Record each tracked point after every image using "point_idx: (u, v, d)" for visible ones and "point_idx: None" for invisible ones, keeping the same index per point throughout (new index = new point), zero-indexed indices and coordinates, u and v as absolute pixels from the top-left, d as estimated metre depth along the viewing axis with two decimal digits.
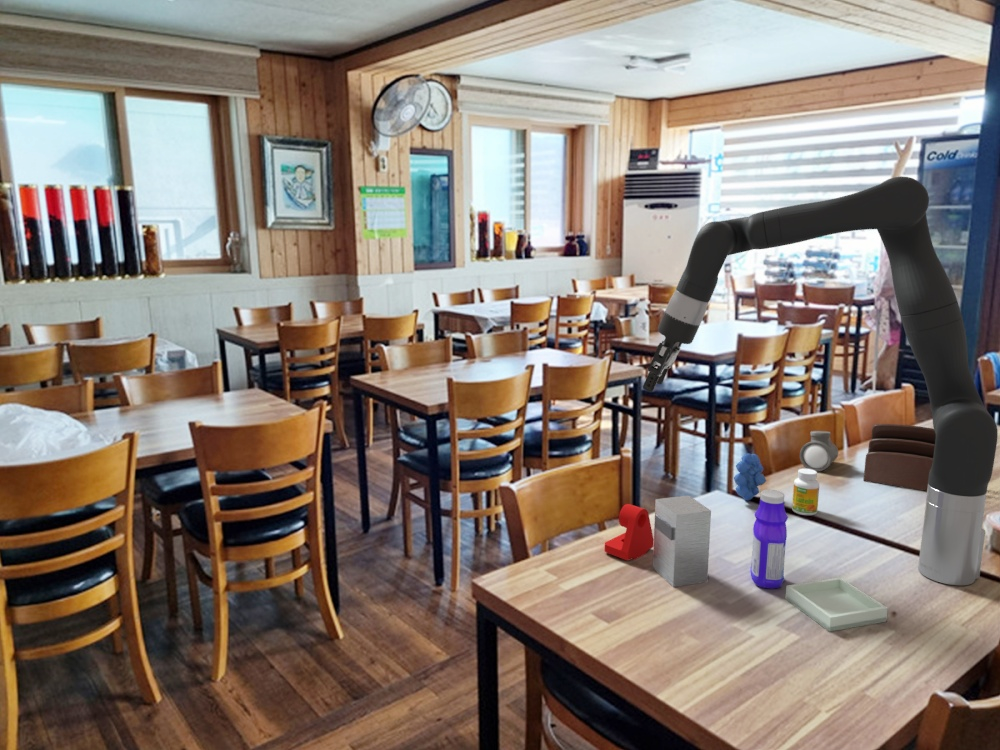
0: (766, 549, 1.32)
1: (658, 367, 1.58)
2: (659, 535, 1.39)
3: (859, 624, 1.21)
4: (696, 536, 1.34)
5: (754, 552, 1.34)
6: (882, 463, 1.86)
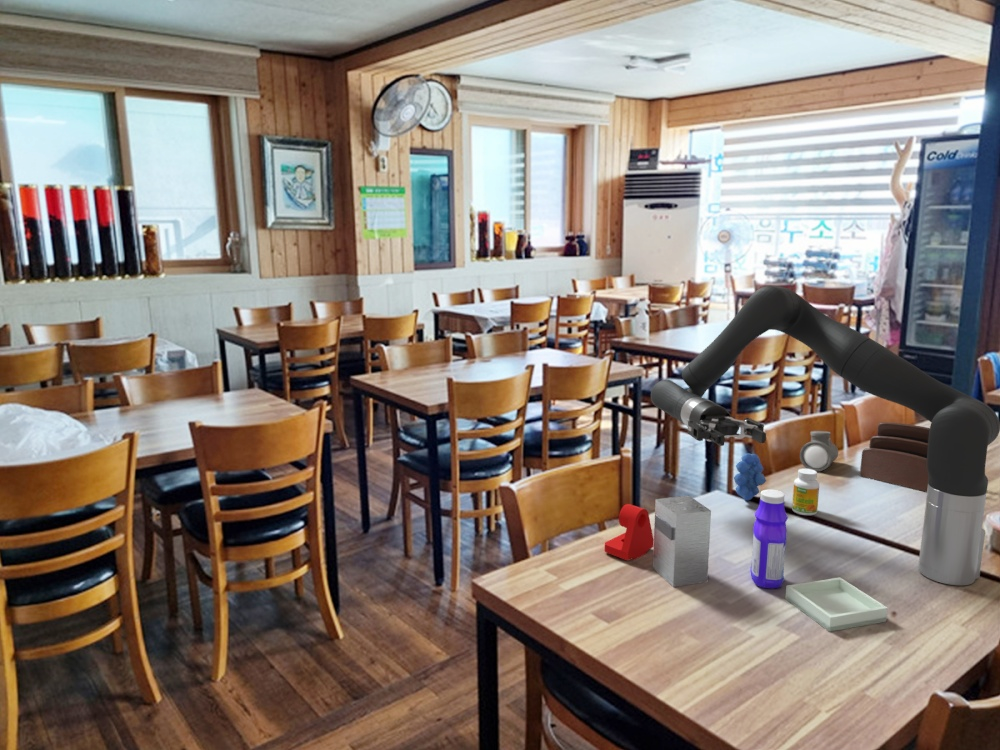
0: (766, 549, 1.32)
1: (752, 438, 1.46)
2: (659, 535, 1.39)
3: (859, 624, 1.21)
4: (696, 536, 1.34)
5: (754, 552, 1.34)
6: (876, 460, 1.89)
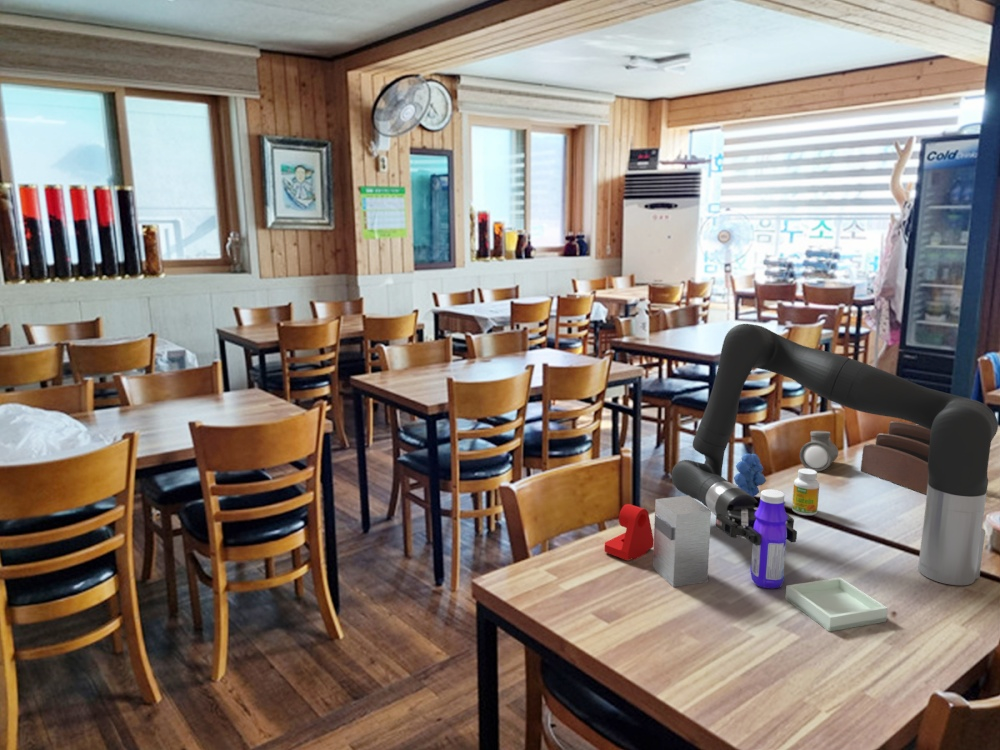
0: (766, 549, 1.32)
1: None
2: (659, 535, 1.39)
3: (859, 624, 1.21)
4: (696, 536, 1.34)
5: (754, 552, 1.34)
6: (874, 456, 1.92)
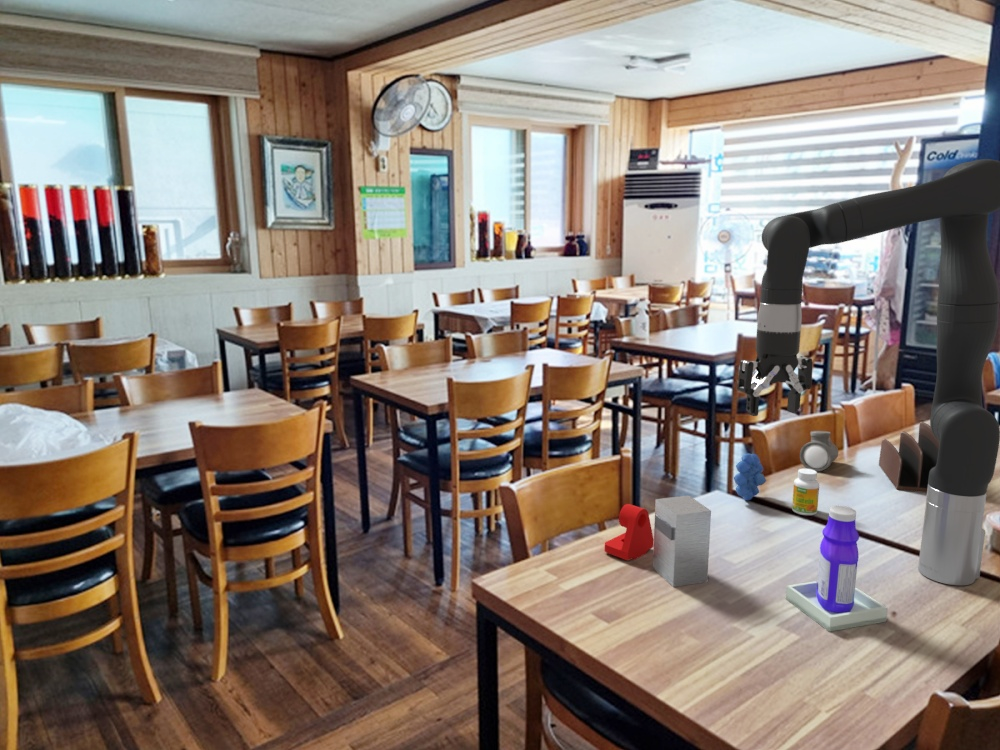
0: (836, 570, 1.22)
1: (788, 394, 1.39)
2: (659, 535, 1.39)
3: (859, 624, 1.21)
4: (696, 536, 1.34)
5: (822, 573, 1.24)
6: (884, 450, 1.97)
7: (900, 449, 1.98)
